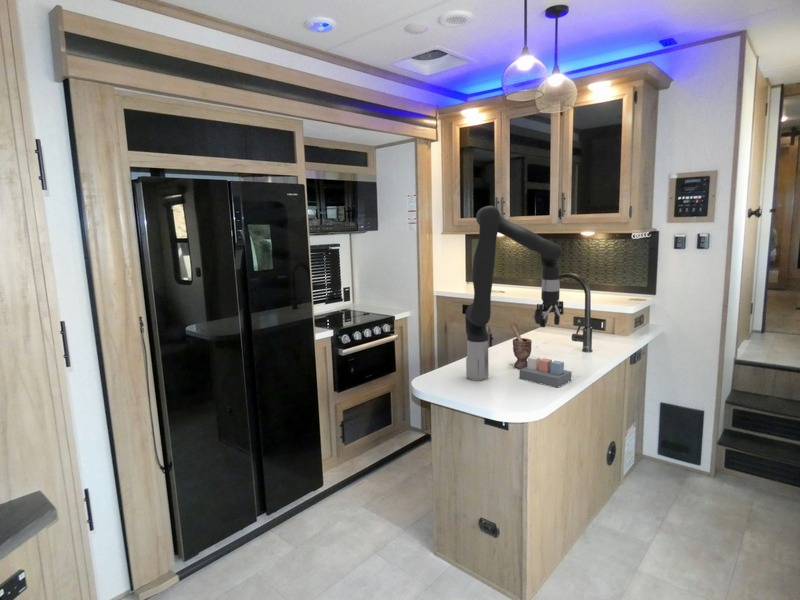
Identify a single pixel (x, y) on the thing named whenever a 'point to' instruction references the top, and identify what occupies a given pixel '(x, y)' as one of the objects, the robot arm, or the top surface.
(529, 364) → the white key
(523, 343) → the mortar and pestle
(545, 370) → the coral key
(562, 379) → the grey flat block
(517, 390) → the top surface
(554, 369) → the slate-blue key
